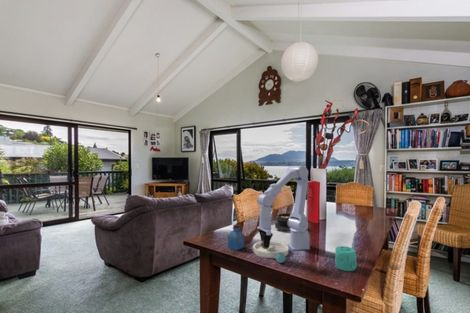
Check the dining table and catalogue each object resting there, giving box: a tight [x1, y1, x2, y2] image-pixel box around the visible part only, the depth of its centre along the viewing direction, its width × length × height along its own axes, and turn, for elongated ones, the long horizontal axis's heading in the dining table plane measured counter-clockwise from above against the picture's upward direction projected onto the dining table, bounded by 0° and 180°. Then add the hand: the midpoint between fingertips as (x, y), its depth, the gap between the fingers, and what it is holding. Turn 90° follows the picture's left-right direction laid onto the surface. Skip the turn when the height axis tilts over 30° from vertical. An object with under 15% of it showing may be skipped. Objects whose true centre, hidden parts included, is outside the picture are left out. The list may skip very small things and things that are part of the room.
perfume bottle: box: [227, 224, 245, 251], centre depth 133 cm, size 6×6×12 cm
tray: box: [252, 240, 290, 259], centre depth 127 cm, size 18×18×2 cm
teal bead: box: [275, 253, 286, 264], centre depth 113 cm, size 4×4×4 cm
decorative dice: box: [334, 245, 357, 272], centre depth 109 cm, size 8×8×8 cm
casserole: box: [274, 213, 299, 231], centre depth 172 cm, size 25×19×8 cm
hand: (265, 245), depth 123 cm, fingers closed on walnut bead, 4 cm apart
